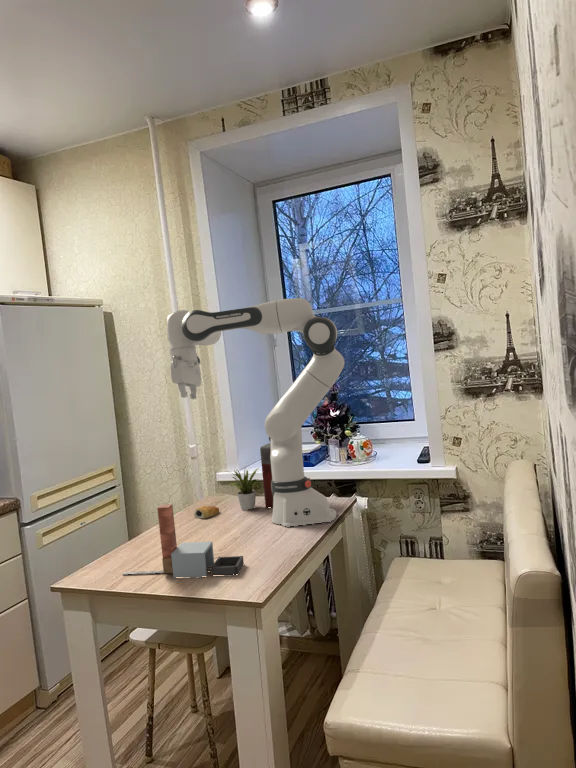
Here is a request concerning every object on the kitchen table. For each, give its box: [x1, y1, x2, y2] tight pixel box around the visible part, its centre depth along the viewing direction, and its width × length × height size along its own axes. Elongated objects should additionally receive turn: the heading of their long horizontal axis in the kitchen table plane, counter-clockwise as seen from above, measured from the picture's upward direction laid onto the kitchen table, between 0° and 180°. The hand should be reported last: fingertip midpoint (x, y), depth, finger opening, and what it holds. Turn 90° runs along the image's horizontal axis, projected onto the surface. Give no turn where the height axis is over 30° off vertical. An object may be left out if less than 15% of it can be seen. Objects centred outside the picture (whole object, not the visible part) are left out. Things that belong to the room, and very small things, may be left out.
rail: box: [122, 568, 212, 576], centre depth 166 cm, size 26×1×1 cm, turn 82°
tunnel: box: [171, 540, 215, 579], centre depth 165 cm, size 9×9×7 cm
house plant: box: [224, 466, 260, 511], centre depth 225 cm, size 14×14×16 cm
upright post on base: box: [157, 503, 178, 573], centre depth 165 cm, size 10×4×18 cm, turn 82°
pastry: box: [193, 505, 220, 520], centre depth 221 cm, size 9×7×4 cm
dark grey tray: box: [210, 555, 245, 577], centre depth 164 cm, size 7×8×2 cm
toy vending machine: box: [259, 436, 273, 509], centre depth 225 cm, size 9×11×28 cm
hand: (189, 398), depth 203 cm, fingers open, 8 cm apart
